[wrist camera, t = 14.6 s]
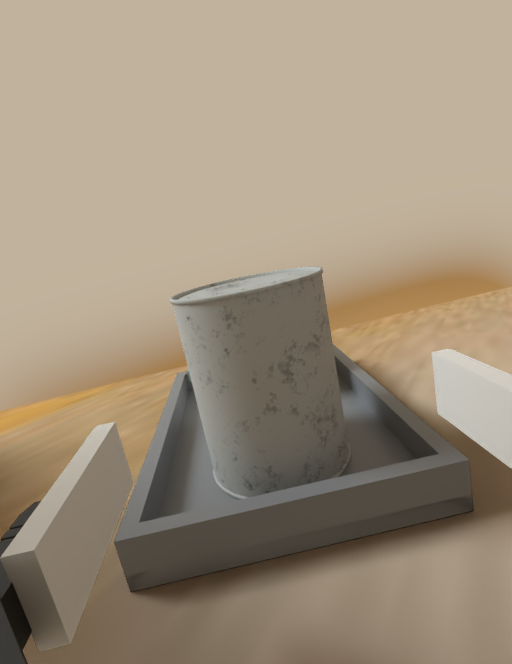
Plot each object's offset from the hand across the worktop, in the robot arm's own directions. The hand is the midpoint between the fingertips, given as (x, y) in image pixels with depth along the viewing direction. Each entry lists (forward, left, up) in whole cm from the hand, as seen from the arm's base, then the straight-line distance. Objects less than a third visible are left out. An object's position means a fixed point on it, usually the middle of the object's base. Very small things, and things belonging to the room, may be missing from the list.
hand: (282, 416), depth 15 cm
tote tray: (-13, +8, -8) cm, 17 cm away
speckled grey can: (-8, +5, -8) cm, 12 cm away
